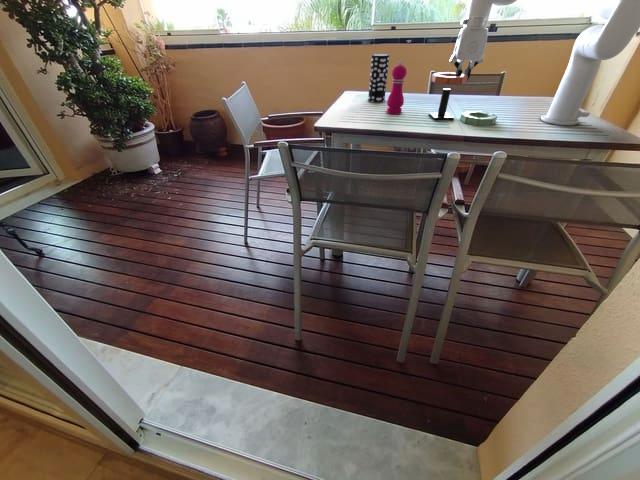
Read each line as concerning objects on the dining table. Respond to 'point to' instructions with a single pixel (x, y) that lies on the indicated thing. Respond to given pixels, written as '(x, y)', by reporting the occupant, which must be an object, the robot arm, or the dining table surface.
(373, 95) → the white-spotted black cylinder
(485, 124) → the ring green
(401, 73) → the pepper mill
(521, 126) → the dining table surface
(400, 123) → the dining table surface
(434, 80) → the ring terracotta
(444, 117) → the peg stand
